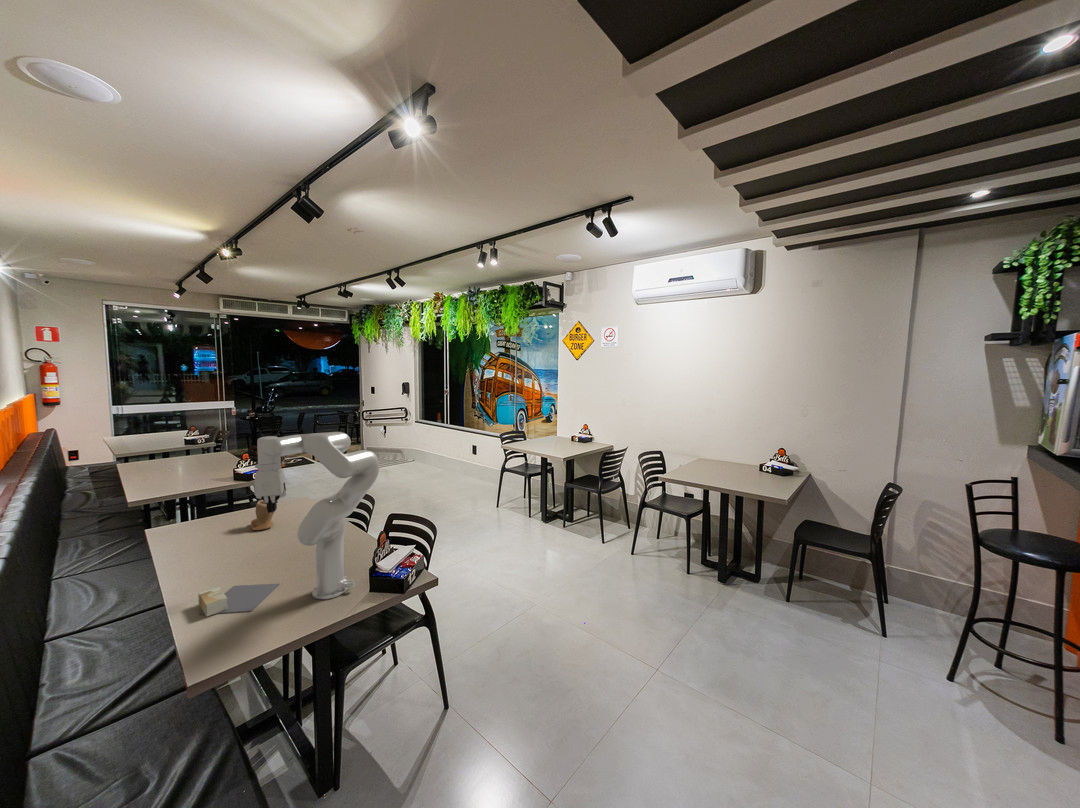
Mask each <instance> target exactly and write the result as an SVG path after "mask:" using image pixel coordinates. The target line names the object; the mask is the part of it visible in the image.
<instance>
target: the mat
mask: <svg viewBox="0 0 1080 808" xmlns="http://www.w3.org/2000/svg"><path fill="white" fill-rule="evenodd" d="M279 586H280V583H263V584H245V585H244V584H243V585H241V584H240V585H233V586H232V587H230V588H229V589H228V590H227V591H226V592H223V593H224V594H225V596H226V597H227V598H228V609H227V610H224V611H221V612H219V613H216V614H215V615H218V614H219V615H223V614H236V613H237V614H238V613H252V612H253V611H254V610H255V609H256V608H257V607H258V606H259V605H260V604H261V603H262V602H263V601H264V600H265V599H266V598H267V597H268V596H269V595H270V594H272V593H273V591H275V589H277V587H279ZM201 615H205V613H204V612H203V610H201V612H199V613H198V616H201ZM205 616H206V615H205Z"/></svg>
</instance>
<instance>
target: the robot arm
mask: <svg viewBox="0 0 1080 808" xmlns="http://www.w3.org/2000/svg"><path fill="white" fill-rule="evenodd" d="M351 443H352V441H351V437H350V436H349V435H348V434H347V433H345V432H342V431H331V432H317V433H313V432H312V433H305V434H304V433H302V434H292V435H285V436H280V437H278V436H275V435H273V436H272V435H270V436H269V435H268V436H261V437H259V438H257V443H256V444H257V445H256V447H257V464H255V465H254V468H255V469H257V470H258V471H255V475H254V486H253V491H254V492H253V494H254V496H255V499H259V500H264V501H265V503H267V510H268V513H270V512H271V513H273V512H274V511H276V510H277V509H278V508H277V505H278V504H277V502H278V500H279V499H281V498H284V497H287V493H286V491H287V482H286V476H285V472H284V469H283V468H282V462H281V460H282V459H281V457H285V456H288V455H289V456H290V455H293V454H299V453H306V454H308V455H310V456H314V458H315V459H316V460H317V461H318V462H319V463H320V464H321V465H322V466H324V467H325V469H327V470H328V471H329V472H330V473H331V474H332V475H333V476H335V477H337V478H339V479H347V478H348V479H347V480H346V481H345V482H344V483H343V485H342V487H340V490H339V491H337V492H336V493H334V494H333V495H330V496H327V497H324V498H322V499H321V500H319V501H317V502H316V503H314V504H313V506H312V507H311V508H310V510H309V512H308V513H307V514H306V515H305V516H304V518H303V520H302V521H301V522H300V524H299V526H298V528H297V532H296V533H297V539H298V541H299V542H300V543H301V545H303V546H305V547H307V546H308V547H310V546H311V547H312V546H315V545H316V546H315V576H316V586H315V587H314V588H313V590H312V592H311V594H312V595H311V596H312V597H313V598H314V599H317V600H330V599H334V598H336V597H337V598H338V597H340V596H342V595H343V594H345V593H346V592H347V591H348V590H349V588H354V587H355V585H356V584H355V583H356V582H355V579H348V578H347V575H344V574H345V573H344V572H345V571H344V570H345V569H344V567H345V566H344V565H345V564H344V563H345V562H344V536H345V531H346V525H347V522H346V518H347V517H349V516H350V515H351V514H352V513H353V512H354V510H355V509H356V508H357V506H358V505H359V504H360V503H361V501H362V500H363V499H364V497H365V496H366V494H367V493H368V491H369V490H370V489H371V488H372V486H373V485H374V483H375V481H376V480H377V478H378V475H379V472H380V462H379V461H380V460H379V459H378V456H377V455H376V453H374V452H373V451H371V450H368V449H360V450H357V451H352V452H348V453H346V452H347V450H349V448H350V446H351ZM274 513H275V512H274Z"/></svg>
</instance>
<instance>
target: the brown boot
mask: <svg viewBox="0 0 1080 808" xmlns="http://www.w3.org/2000/svg"><path fill="white" fill-rule="evenodd" d="M274 514H275V511H274V512H273V513H271V512H270V513H268V510H267V503H265V501H264V500H262V499H259V500H258V501H257V503H256V505H255V516H256V518H254V519H253V520H251V521H250V527H251V529H252V530H253V531H261V530H266V529H271V528H272V527H273V525H274V523H273V520H272V519H273V516H274Z"/></svg>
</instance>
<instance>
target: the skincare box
mask: <svg viewBox="0 0 1080 808" xmlns="http://www.w3.org/2000/svg"><path fill="white" fill-rule="evenodd" d="M224 593H225V592H223V590H222V589H221V588H220V586H216V587H214V588H209V589H206V590H204V591H201V592H199V593H198V595H197V596H198V597H197V598H198V599H197V600H198V605H199V607H200V608H201V611H203V612H204V613H205V617H210V616H212V615H217V614H216V613H219V612H221V611H224V610H227V609H228V598H227V597H226V596H225V594H224Z"/></svg>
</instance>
